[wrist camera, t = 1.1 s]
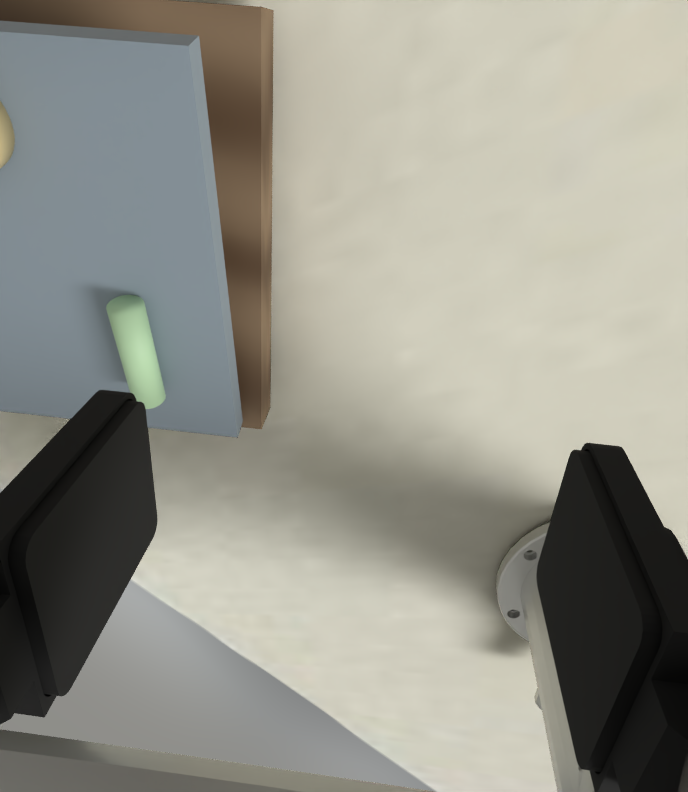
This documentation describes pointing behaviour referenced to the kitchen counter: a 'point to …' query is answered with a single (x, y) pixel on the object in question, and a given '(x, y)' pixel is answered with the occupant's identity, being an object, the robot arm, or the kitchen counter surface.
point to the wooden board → (216, 147)
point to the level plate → (111, 229)
